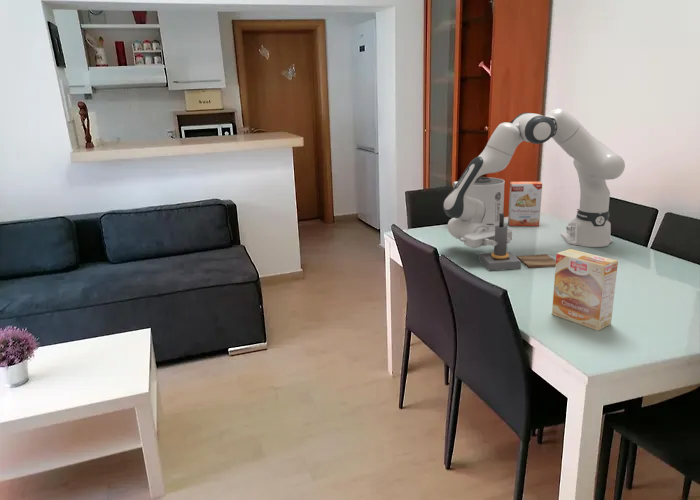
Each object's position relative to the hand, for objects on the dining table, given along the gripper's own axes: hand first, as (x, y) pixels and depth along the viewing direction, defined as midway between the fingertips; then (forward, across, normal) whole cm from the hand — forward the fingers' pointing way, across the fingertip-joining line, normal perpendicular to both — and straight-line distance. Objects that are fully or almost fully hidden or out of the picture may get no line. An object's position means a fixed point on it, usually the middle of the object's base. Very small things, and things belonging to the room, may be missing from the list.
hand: (502, 242), depth 200 cm
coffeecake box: (+48, -14, +9) cm, 51 cm away
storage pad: (+5, +14, +9) cm, 17 cm away
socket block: (-1, 0, +9) cm, 9 cm away
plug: (-1, 0, +9) cm, 9 cm away
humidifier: (-51, +31, +10) cm, 60 cm away
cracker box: (-38, +49, +10) cm, 63 cm away
